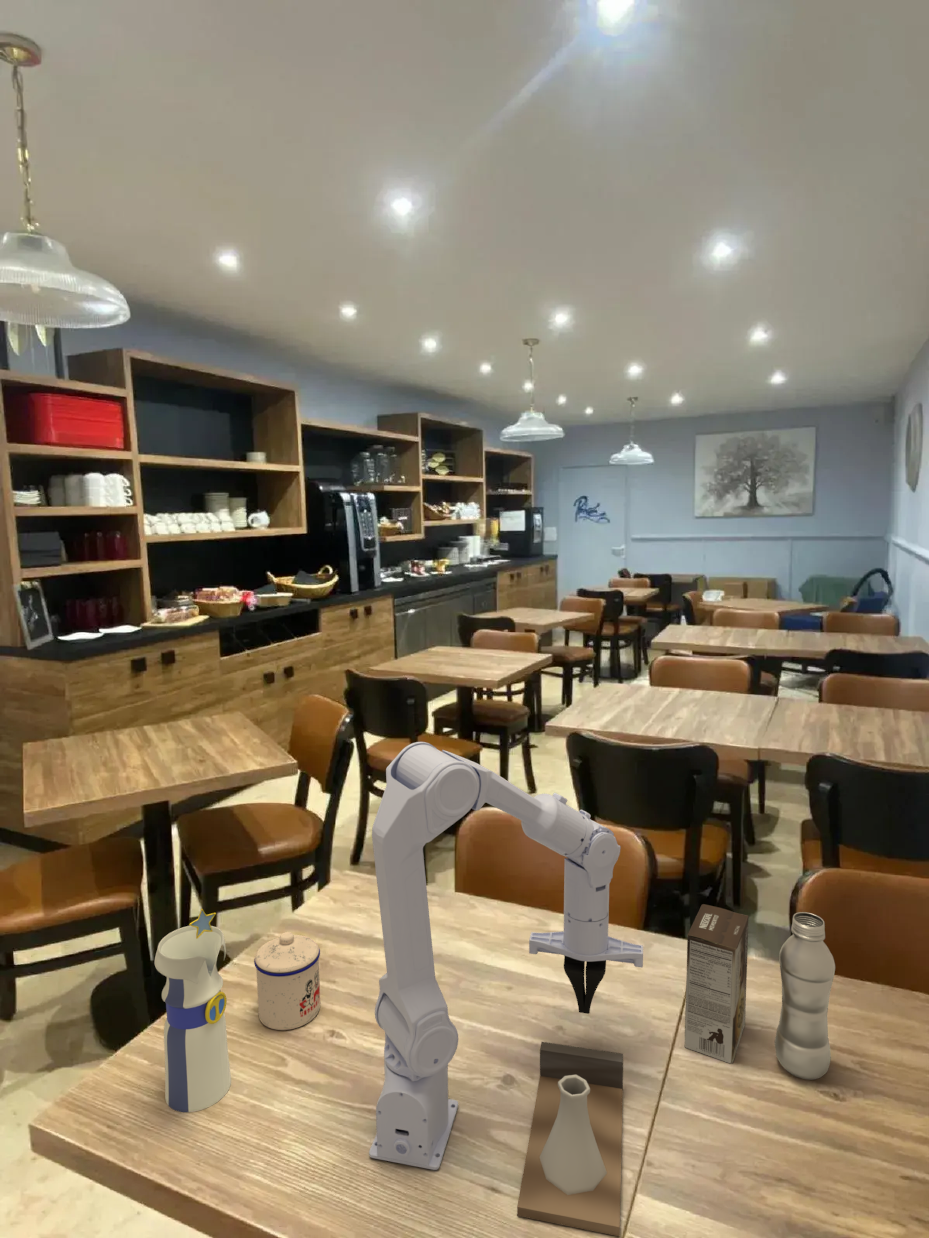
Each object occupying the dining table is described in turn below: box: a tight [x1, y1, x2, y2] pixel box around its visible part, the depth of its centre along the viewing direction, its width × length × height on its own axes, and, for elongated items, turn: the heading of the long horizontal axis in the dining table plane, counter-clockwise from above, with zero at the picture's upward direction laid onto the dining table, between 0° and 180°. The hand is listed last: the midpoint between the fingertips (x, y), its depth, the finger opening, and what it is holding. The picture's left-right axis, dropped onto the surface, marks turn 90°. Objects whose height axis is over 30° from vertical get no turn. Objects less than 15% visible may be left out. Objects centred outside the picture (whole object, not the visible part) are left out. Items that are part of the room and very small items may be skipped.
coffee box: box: [684, 903, 749, 1064], centre depth 98 cm, size 9×6×16 cm
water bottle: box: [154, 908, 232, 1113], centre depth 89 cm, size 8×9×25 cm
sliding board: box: [516, 1041, 624, 1237], centre depth 81 cm, size 20×10×4 cm, turn 167°
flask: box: [539, 1075, 607, 1195], centre depth 77 cm, size 7×7×10 cm
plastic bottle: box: [774, 911, 836, 1081], centre depth 91 cm, size 6×7×20 cm
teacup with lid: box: [253, 931, 321, 1031], centre depth 105 cm, size 12×9×12 cm
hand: (584, 1008), depth 96 cm, fingers closed
